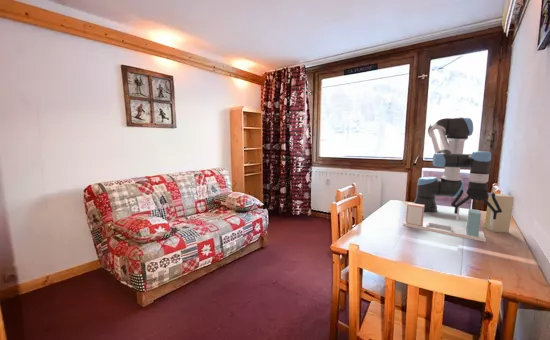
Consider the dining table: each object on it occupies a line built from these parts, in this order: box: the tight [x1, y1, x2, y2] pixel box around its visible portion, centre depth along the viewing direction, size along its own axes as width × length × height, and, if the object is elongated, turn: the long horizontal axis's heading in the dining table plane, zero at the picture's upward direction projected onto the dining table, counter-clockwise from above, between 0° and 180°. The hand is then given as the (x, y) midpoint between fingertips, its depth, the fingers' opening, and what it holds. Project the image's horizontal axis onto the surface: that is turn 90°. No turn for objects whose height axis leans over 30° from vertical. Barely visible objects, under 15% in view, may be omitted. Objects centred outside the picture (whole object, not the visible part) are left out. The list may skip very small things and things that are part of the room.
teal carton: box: [465, 208, 482, 237], centre depth 128 cm, size 5×8×12 cm, turn 144°
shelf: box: [402, 220, 487, 243], centre depth 136 cm, size 16×36×4 cm, turn 54°
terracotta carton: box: [405, 202, 425, 226], centre depth 140 cm, size 5×8×12 cm, turn 54°
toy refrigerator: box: [484, 193, 515, 233], centre depth 134 cm, size 8×7×21 cm
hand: (473, 222), depth 128 cm, fingers open, 13 cm apart
